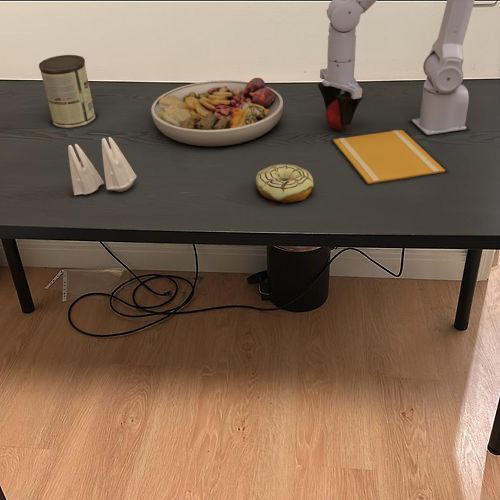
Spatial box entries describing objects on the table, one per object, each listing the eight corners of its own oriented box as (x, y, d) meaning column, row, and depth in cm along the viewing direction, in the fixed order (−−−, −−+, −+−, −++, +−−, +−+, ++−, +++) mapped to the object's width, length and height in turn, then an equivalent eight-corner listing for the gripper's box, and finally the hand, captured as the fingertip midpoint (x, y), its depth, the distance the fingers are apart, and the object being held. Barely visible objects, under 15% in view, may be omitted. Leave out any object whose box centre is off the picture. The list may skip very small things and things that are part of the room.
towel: (401, 131, 140) (402, 129, 139) (445, 172, 124) (445, 169, 123) (333, 141, 137) (333, 139, 137) (367, 184, 121) (368, 182, 121)
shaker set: (138, 184, 125) (130, 132, 118) (134, 194, 121) (125, 142, 115) (78, 185, 125) (67, 133, 119) (73, 196, 122) (60, 143, 116)
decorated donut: (279, 212, 114) (278, 194, 112) (245, 189, 121) (244, 171, 119) (323, 193, 118) (324, 176, 116) (289, 172, 126) (288, 155, 124)
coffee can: (50, 115, 156) (37, 58, 148) (92, 108, 158) (82, 52, 150) (53, 131, 148) (39, 72, 140) (98, 123, 150) (86, 65, 142)
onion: (350, 136, 139) (352, 101, 134) (324, 135, 140) (325, 100, 135) (352, 125, 143) (354, 91, 139) (326, 124, 144) (327, 90, 140)
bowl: (207, 166, 130) (204, 130, 125) (129, 124, 149) (123, 92, 144) (310, 122, 145) (310, 89, 141) (227, 90, 164) (225, 60, 160)
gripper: (308, 51, 137) (307, 111, 144) (342, 71, 125) (339, 135, 133) (336, 46, 139) (334, 105, 146) (372, 65, 128) (368, 128, 135)
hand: (338, 119), depth 140 cm, fingers closed on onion, 6 cm apart
